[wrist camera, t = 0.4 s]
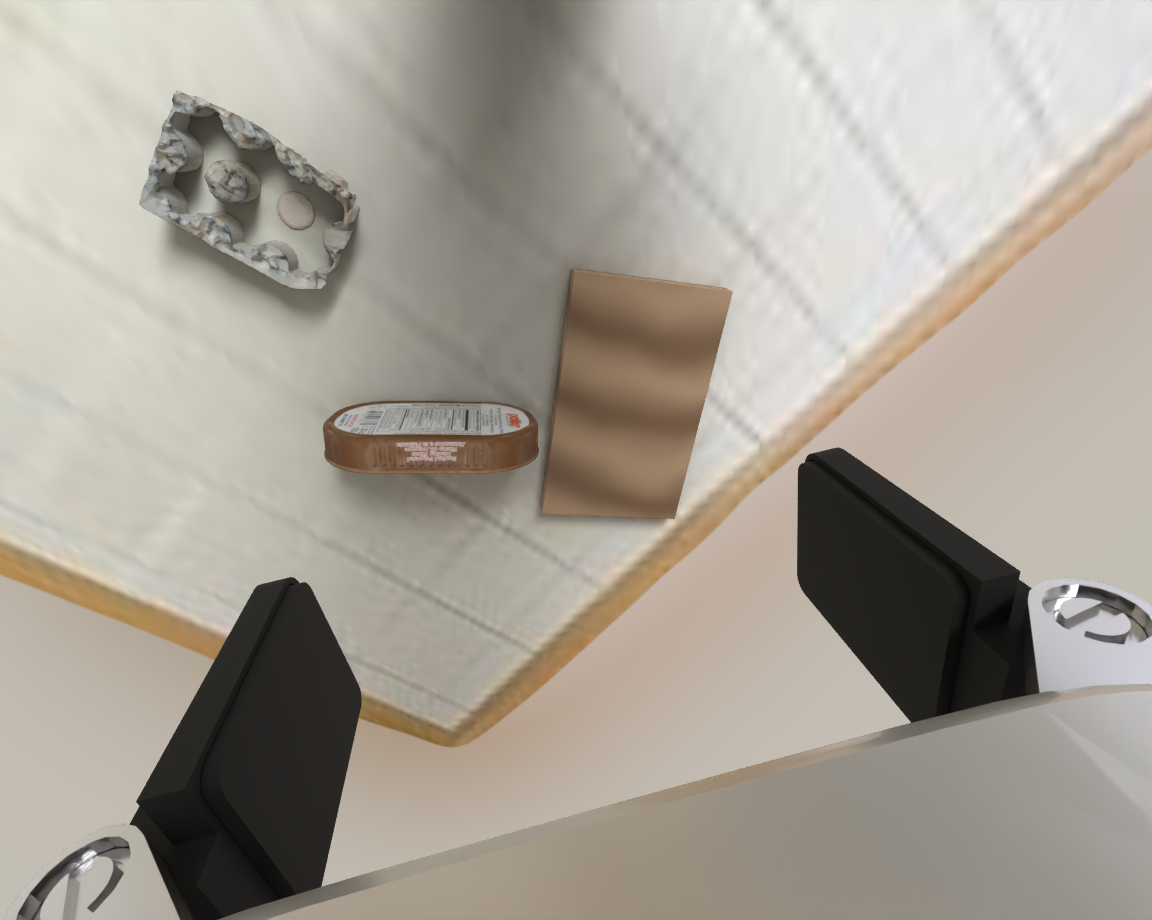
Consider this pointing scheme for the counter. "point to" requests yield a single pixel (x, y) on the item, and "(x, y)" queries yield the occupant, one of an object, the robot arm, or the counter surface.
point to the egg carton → (242, 193)
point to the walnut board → (629, 393)
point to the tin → (430, 437)
